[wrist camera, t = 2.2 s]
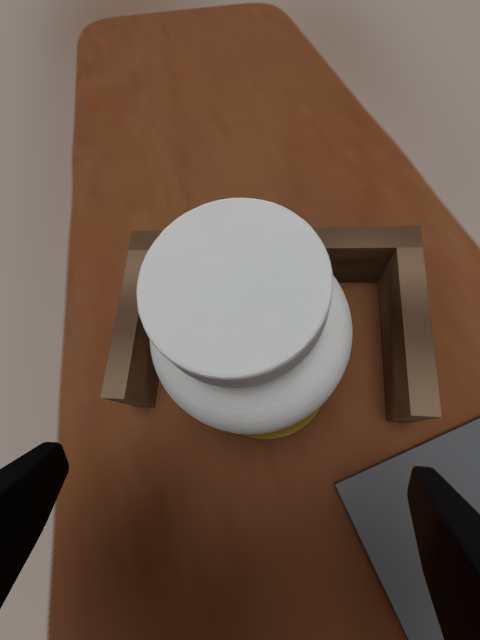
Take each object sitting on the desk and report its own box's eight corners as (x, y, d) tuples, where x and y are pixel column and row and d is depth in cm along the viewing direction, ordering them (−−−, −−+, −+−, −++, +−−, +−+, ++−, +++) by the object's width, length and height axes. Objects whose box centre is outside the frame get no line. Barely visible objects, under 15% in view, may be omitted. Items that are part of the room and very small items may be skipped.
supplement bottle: (344, 418, 19) (438, 375, 7) (226, 455, 19) (118, 475, 7) (302, 308, 21) (317, 132, 9) (197, 341, 21) (79, 212, 9)
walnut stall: (410, 422, 18) (441, 417, 15) (134, 405, 21) (100, 397, 17) (397, 264, 21) (420, 226, 18) (157, 265, 24) (132, 231, 20)
